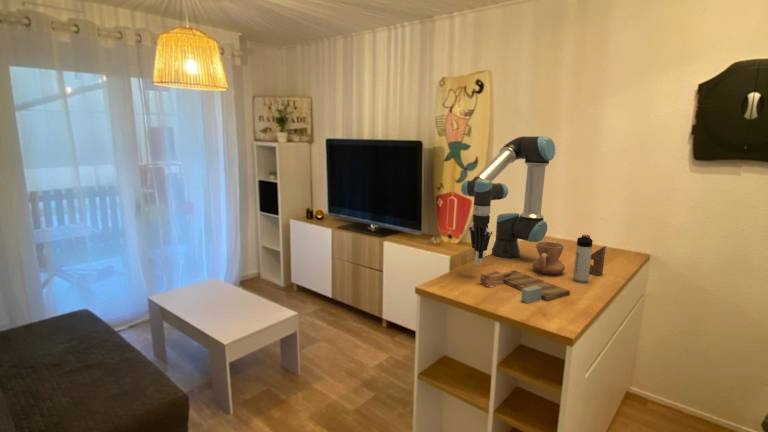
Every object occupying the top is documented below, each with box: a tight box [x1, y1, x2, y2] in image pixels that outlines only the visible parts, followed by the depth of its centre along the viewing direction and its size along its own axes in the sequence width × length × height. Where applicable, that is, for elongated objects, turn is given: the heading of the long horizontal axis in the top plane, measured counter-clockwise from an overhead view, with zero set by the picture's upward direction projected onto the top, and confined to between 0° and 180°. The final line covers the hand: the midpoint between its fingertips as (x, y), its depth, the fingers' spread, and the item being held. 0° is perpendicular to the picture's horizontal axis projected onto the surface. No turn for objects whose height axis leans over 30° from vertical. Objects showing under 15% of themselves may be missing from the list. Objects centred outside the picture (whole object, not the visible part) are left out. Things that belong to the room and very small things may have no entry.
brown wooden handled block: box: [479, 269, 512, 288], centre depth 183 cm, size 6×16×5 cm, turn 121°
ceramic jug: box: [532, 240, 566, 276], centre depth 196 cm, size 18×14×14 cm
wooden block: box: [581, 234, 607, 277], centre depth 196 cm, size 4×11×18 cm, turn 43°
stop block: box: [520, 285, 542, 304], centre depth 163 cm, size 3×8×5 cm, turn 120°
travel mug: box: [572, 235, 594, 284], centre depth 184 cm, size 6×7×20 cm
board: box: [503, 270, 571, 302], centre depth 178 cm, size 30×14×2 cm, turn 30°
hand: (478, 264), depth 188 cm, fingers closed
